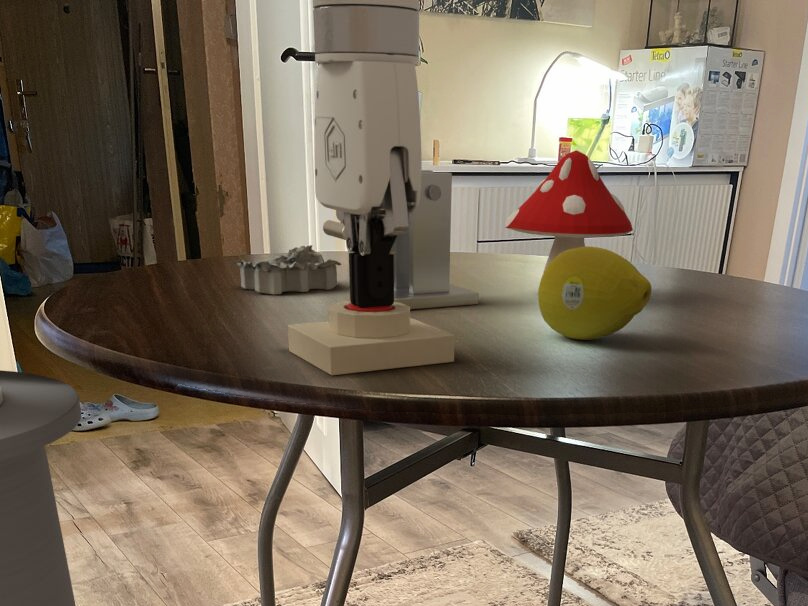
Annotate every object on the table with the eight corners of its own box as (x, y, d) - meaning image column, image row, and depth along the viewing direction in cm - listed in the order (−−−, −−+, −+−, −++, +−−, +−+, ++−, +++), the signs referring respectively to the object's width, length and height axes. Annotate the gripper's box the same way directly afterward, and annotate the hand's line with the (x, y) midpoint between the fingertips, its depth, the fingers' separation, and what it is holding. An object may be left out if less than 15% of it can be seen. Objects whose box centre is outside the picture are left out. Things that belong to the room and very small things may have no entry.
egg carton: (316, 280, 110) (314, 244, 108) (346, 289, 105) (346, 251, 103) (233, 286, 104) (230, 248, 102) (261, 296, 99) (258, 256, 97)
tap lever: (347, 248, 90) (338, 223, 89) (327, 242, 94) (318, 218, 92) (447, 199, 93) (440, 175, 92) (424, 195, 97) (417, 172, 95)
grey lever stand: (395, 310, 94) (395, 174, 88) (362, 298, 100) (360, 169, 94) (478, 304, 98) (483, 173, 92) (442, 292, 104) (444, 169, 98)
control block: (331, 375, 70) (329, 322, 68) (288, 351, 77) (285, 302, 75) (454, 362, 75) (455, 312, 73) (404, 340, 82) (404, 293, 80)
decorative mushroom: (499, 303, 99) (507, 150, 92) (503, 283, 111) (510, 146, 104) (630, 309, 98) (648, 154, 91) (619, 288, 110) (634, 150, 103)
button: (359, 333, 73) (358, 310, 72) (341, 324, 75) (340, 302, 75) (399, 329, 74) (399, 307, 73) (380, 321, 77) (380, 299, 76)
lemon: (514, 334, 85) (519, 243, 81) (567, 324, 90) (574, 238, 86) (607, 356, 78) (617, 258, 74) (659, 344, 83) (671, 251, 79)
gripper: (280, 43, 69) (295, 293, 78) (363, 32, 58) (370, 326, 67) (369, 48, 73) (374, 287, 81) (464, 39, 61) (458, 318, 70)
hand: (372, 304), depth 74 cm, fingers closed
